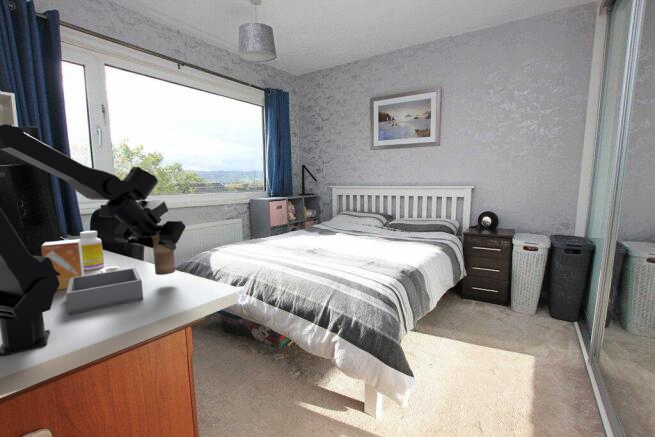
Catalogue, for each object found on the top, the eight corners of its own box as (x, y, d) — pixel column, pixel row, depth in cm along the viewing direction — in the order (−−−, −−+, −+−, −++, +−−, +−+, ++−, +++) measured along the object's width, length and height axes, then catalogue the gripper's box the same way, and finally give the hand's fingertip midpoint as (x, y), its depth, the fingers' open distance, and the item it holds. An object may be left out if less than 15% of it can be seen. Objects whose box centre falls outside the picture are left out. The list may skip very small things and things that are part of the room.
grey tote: (143, 299, 80) (141, 280, 79) (68, 314, 71) (66, 293, 70) (136, 284, 91) (135, 267, 91) (72, 296, 83) (70, 277, 82)
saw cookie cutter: (126, 278, 100) (126, 273, 100) (108, 282, 97) (107, 277, 97) (116, 269, 109) (116, 264, 109) (99, 272, 106) (99, 267, 106)
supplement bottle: (107, 267, 111) (104, 231, 109) (85, 272, 105) (81, 234, 103) (99, 264, 114) (95, 229, 113) (77, 269, 109) (72, 232, 107)
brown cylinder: (176, 272, 89) (173, 227, 88) (157, 276, 86) (153, 229, 85) (173, 268, 93) (169, 225, 92) (154, 271, 90) (150, 227, 89)
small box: (46, 292, 86) (40, 245, 84) (50, 285, 91) (44, 241, 90) (83, 286, 91) (78, 241, 89) (85, 280, 96) (80, 238, 94)
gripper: (178, 190, 81) (206, 226, 93) (118, 190, 85) (153, 225, 97) (157, 224, 74) (191, 259, 86) (94, 223, 79) (134, 256, 91)
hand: (167, 248), depth 90 cm, fingers closed on brown cylinder, 5 cm apart
